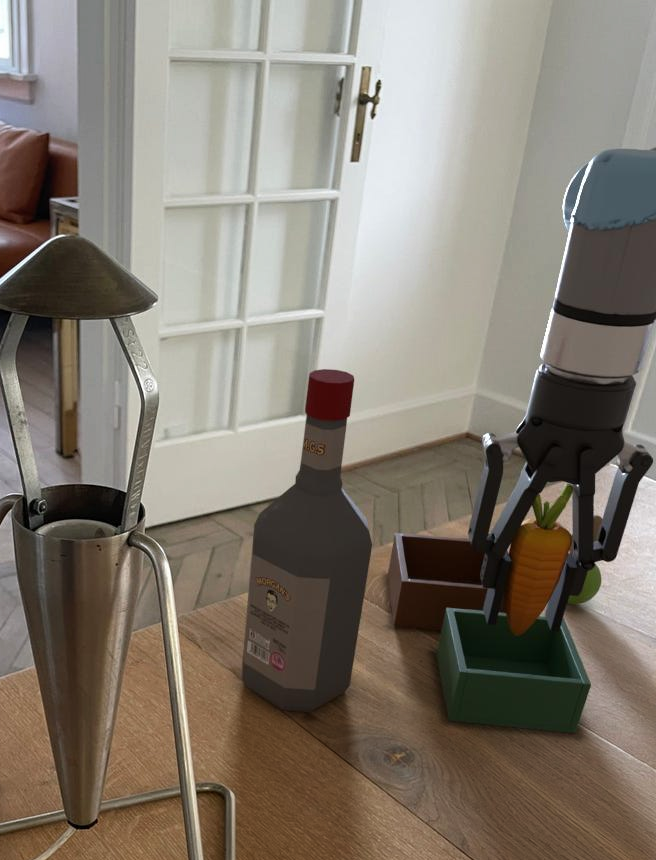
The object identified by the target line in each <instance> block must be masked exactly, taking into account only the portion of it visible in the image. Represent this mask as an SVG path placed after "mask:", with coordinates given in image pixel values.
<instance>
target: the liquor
mask: <svg viewBox="0 0 656 860" xmlns="http://www.w3.org/2000/svg"><path fill="white" fill-rule="evenodd" d="M354 386H355V376H354V375H353V374H351V373H349V372H347V371H343V370H339V369H331V368H330V369H329V368H328V369H327V368H323V369H322V368H321V369H315V370H313V371H311V372H309V374H308V383H307V391H306V398H305V407H304V413H305V415H306V417H305V425H304V431H303V440H302V441H303V442H302V448H301V449H302V450H301V455H300V456H301V457H300V463H299V470H298V471H297V473H296V475H295V480H294V484H293V485H291V486H290V487H289V488H288V489H286V491H284V492H283V493H282V494H281V495H279V497H277V498H276V499H275V500H274V501H273V502H271V503H269V505H267V506H266V507H265V508H264V509H262V511H260V512H259V514H258V516H257V518H256V520H255V522H254V523H253V535H252V547H251V557H250V570H249V581H248V594H247V605H246V617H245V628H244V639H243V650H242V651H243V652H242V663H241V664H242V665H241V667H242V668H241V680H242V682H243V684H244V685H245V687H246V688H247V689H249V690H251V691H252V692H254V693H255V694H257V695H259V696H260V697H261V698H263V699H264V700H266V701H267V702H269V703H271V704H272V705H274V706H275V707H277V708H278V709H280V710H282V711H285V712H304V713H310V712H312V711H314V710H316V709H317V708H320V707H321V706H323V705H325V704H327V703H329V702H330V701H332V700H333V699H336V698H337V697H339V696H341V695H342V694H344V693H345V692H346V691H347V689H348V688H350V686H351V679H352V674H353V668H354V661H355V655H356V648H357V641H358V636H359V630H360V625H361V618H362V612H363V611H362V610H363V606H364V600H365V599H364V598H365V593H366V588H367V587H366V586H367V581H368V574H369V567H370V561H371V557H372V549H373V542H372V537H371V533H370V529H369V525H368V521H367V518H366V517H365V516H364V514H363V512H362V511H361V510H360V509H359V508H358V506H357V505H356V504H355V502H354V501H353V500H352V499H351V498H350V496H349V495H348V494H347V492H346V491H345V490H344V488H343V485H344V482H343V479H342V465H343V458H344V457H343V456H344V449H345V443H346V442H345V441H346V432H347V424H348V418H350V417H351V410H352V401H353V396H354V395H353V393H354Z"/></svg>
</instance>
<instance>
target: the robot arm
mask: <svg viewBox="0 0 656 860" xmlns="http://www.w3.org/2000/svg"><path fill="white" fill-rule="evenodd" d="M562 202H563V203H562V214H563V215H562V219H563V223H564V225H565V228H566V230H567V232H568V236H567V240H566V245H565V250H564V254H563V259H562V263H561V268H560V272H559V275H558V280H557V286H556V289H555V294H554V298H553V303H552V308H551V311H550V314H549V315H550V316H549V320H548V324H547V328H546V332H545V336H544V338H543V344H542V347H541V351H540V359H541V360H542V361H543V363H542V364H540V366H538V367H537V368H536V371H535V375H534V379H533V383H532V387H531V388H532V389H531V392H530V396H529V401H528V405H527V409H526V413H525V416H524V418H523V420H522V421H521V423H520V424H519V425H518V426H517V427H516V429H515V432H510V433H506V434H502V435H498V436H497V435H495V434H494V433H492V432H488V433H486V434H484V435H483V436H482V438H481V445H482V450H483V457H484V458H483V459H484V461H483V466H482V469H481V475H480V479H479V482H478V488H477V491H476V496H475V499H474V504H473V507H472V512H471V517H470V521H469V526H468V530H467V536H468V539H469V540H470V543H471V546H472V549H474V550H476V551H480V550H481V551H483V552H485V556H484V561H483V565H482V569H481V573H480V577H481V582H482V585H483V588H488V591H487V595H486V599H485V604H484V608H483V611H484V614H485V618H486V622H487V624H490V625H496V622H497V618H498V614H499V610H500V606H501V602H502V598H503V594H504V590H505V586H506V582H507V578H508V574H509V570H510V566H511V559H510V556H509V551H508V549H510V545H511V542H512V540H513V539H514V537H515V535H516V533H517V531H518V530H519V528H520V526H521V524H522V522H523V521H525V520H526V517H527V515H528V513H529V511H530V510H531V508H532V504H533V503H534V501H535V499H536V497H537V495H538V494H541V493H542V492H543V491H544V489H545V487H546V486H547V484H548V483H556V482H564V483H565V484H571V485H572V487H573V488H574V491H573V493H572V495H571V497H572V498H571V499H572V500H571V502H572V503H571V504H572V509H571V510H572V517H571V518H572V522H571V523H572V533H573V556H572V555H571V554H570V552H569V553H568V556H567V559H566V563H565V565H564V568H563V571H562V574H561V577H560V579H559V582H558V584H557V586H556V588H555V590H554V592H553V594H552V596H551V598H550V600H549V601H548V603H547V605H546V608H545V613H544V617H546V619H547V622H548V625H549V627H550V630H553V631H559V630H560V626H561V623H562V620H563V618H564V616H565V613H566V609H567V607H568V599H569V596H570V595H571V596H579V594H580V593H581V592H582V589H583V585H584V583H585V579H586V576H587V573H588V571H589V570H592V569H593V568H594V567H595V564H596V563H597V562H601V561H603V562H606V563H611V562H614V561H615V560H616V558H617V556H618V553H619V550H620V547H621V544H622V540H623V537H624V533H625V530H626V528H627V527H626V526H627V524H628V520H629V518H630V514H631V511H632V507H633V504H634V501H635V497H636V494H637V492H638V488H639V484H640V482H641V481H642V479H643V478H644V476H645V475H646V474H647V472H648V471H649V470H650V468H651V467H652V466H653V463H654V458H653V457H652V455H651V454H650V453H649V452H648V450H647V449H646V448H645V446H644V445H642V444H635V445H633V444H630V443H628V442H626V441H625V437H624V434H623V430H624V429H623V428H624V425H625V423H626V420H627V417H628V414H629V410H630V406H631V403H632V400H633V396H634V393H635V389H636V386H637V381H636V380H635V377H634V375H636V374H637V375H638V373H640V371H641V370H642V367H643V363H644V360H645V356H646V353H647V349H648V346H649V342H650V339H651V335H652V331H653V327H654V324H655V321H656V146H654V147H652V148H650V149H638V148H610V149H606V150H603V151H600V152H599V153H597V154H596V155H594V156H593V158H592V159H591V160H589V161H588V162H587V163H585V164H584V165H583V166H582V167H581V168H579V170H577V172H576V173H575V174H574V175H573V177H572V179H571V180H570V182H569V184H568V186H567V188H566V191H565V194H564V197H563V201H562ZM517 448H519V450H520V452H521V454H522V456H523V457H524V460H525V461H526V462H525V464H524V465H523V468H522V469H521V472H520V475H519V479H518V480H517V483H516V484H515V487H514V488H513V490H512V492H511V494H510V496H509V497H508V500H507V502H506V504H505V506H504V507H503V509H502V511H501V512H500V514H499V516H498V518H497V519H496V522H495V524H494V526H493V528H492V529H491V526H492V525H491V524H492V521H493V516H494V512H495V508H496V505H497V500H498V496H499V493H500V492H499V491H500V488H501V484H502V480H503V477H504V476H503V475H504V463H508V462H509V461H510V460H511V458H512V453H513V451H514V450H515V449H517ZM616 457H617V458H616ZM615 458H616V460H615V463H616V466H617V467H618V468H616V472H615V474H614V477H613V480H612V484H611V488H610V492H609V494H608V498H607V502H606V506H605V509H604V512H603V516H602V522H601V526H600V529H599V533H598V536H597V539H596V542H593V541H594V515H595V514H594V513H595V512H594V511H595V508H594V507H595V505H594V504H595V499H594V498H595V495H596V474H598V472H600V471H601V470H602V469H603V468H604V467H605V466H606V465H608V464H609V463H610V462H611V461H612V460H613V459H615ZM490 529H491V531H490ZM489 532H490V533H489Z"/></svg>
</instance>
